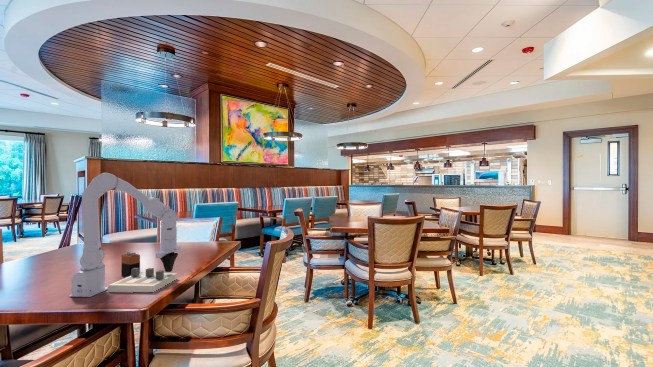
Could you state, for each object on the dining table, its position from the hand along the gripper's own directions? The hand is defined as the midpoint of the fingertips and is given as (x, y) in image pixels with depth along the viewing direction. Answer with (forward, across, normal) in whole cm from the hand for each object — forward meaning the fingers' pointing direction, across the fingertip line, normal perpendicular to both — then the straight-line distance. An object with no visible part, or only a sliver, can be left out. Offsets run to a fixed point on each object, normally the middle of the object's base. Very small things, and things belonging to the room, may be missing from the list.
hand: (168, 271), depth 123 cm
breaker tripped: (+1, -6, 0) cm, 6 cm away
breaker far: (+1, -3, +12) cm, 12 cm away
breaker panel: (+4, -6, +6) cm, 9 cm away
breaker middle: (+1, -3, +6) cm, 7 cm away
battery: (+4, +6, +20) cm, 22 cm away
